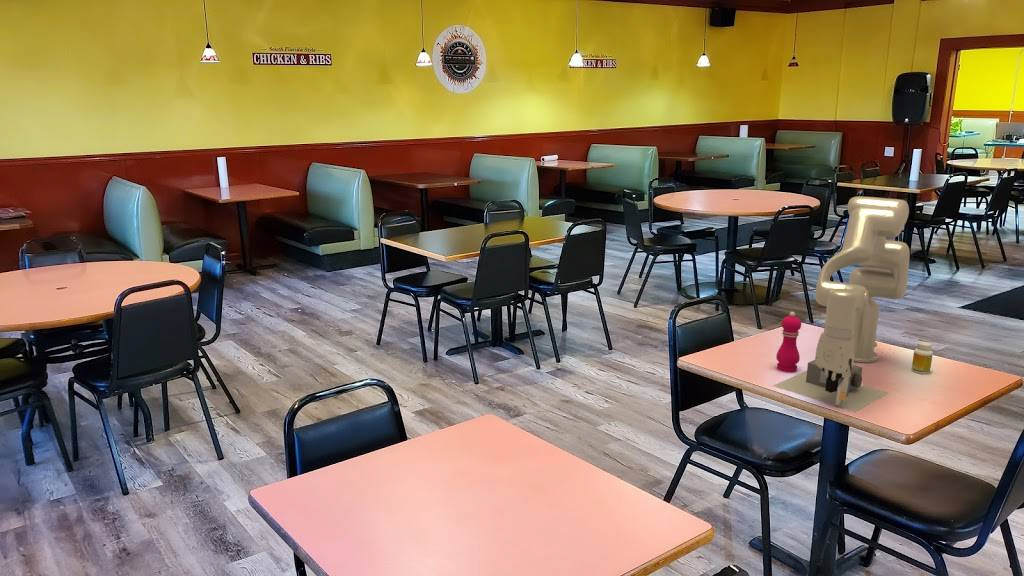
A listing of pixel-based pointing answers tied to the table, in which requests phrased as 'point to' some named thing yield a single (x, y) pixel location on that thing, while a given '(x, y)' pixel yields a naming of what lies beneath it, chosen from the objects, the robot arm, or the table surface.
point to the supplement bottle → (922, 358)
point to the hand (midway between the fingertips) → (831, 390)
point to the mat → (852, 401)
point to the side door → (842, 390)
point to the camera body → (818, 377)
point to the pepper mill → (789, 344)
